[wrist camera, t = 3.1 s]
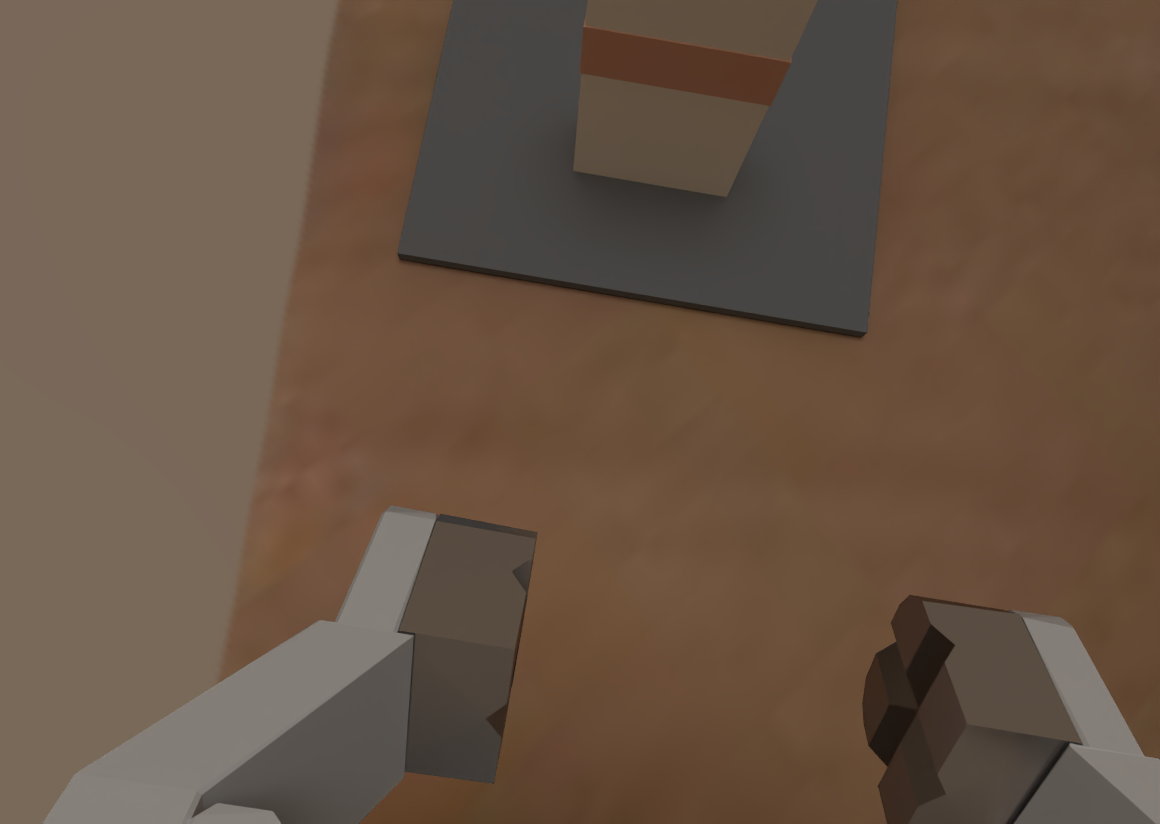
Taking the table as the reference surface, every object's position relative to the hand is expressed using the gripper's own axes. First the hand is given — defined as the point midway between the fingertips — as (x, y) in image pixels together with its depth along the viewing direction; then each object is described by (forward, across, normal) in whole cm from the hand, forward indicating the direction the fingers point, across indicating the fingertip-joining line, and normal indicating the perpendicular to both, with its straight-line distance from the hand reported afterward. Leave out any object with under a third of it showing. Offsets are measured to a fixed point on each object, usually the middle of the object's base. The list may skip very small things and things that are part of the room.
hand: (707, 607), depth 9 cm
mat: (+34, 0, +1) cm, 34 cm away
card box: (+30, 0, +4) cm, 30 cm away
